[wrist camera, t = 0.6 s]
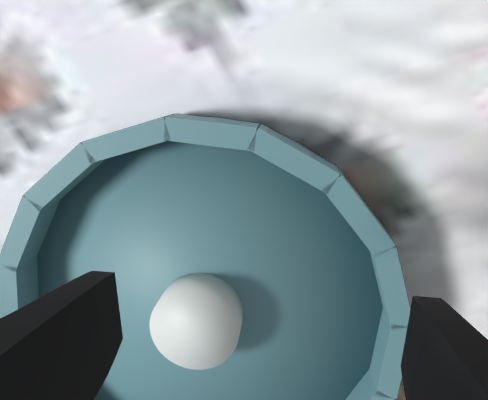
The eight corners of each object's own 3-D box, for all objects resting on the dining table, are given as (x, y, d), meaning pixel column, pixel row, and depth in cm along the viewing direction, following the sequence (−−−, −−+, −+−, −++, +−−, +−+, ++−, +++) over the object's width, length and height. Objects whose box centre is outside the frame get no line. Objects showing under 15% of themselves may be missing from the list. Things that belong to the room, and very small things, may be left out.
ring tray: (274, 508, 26) (272, 549, 24) (-18, 352, 26) (-49, 379, 23) (482, 246, 20) (505, 267, 18) (110, 36, 20) (86, 31, 17)
